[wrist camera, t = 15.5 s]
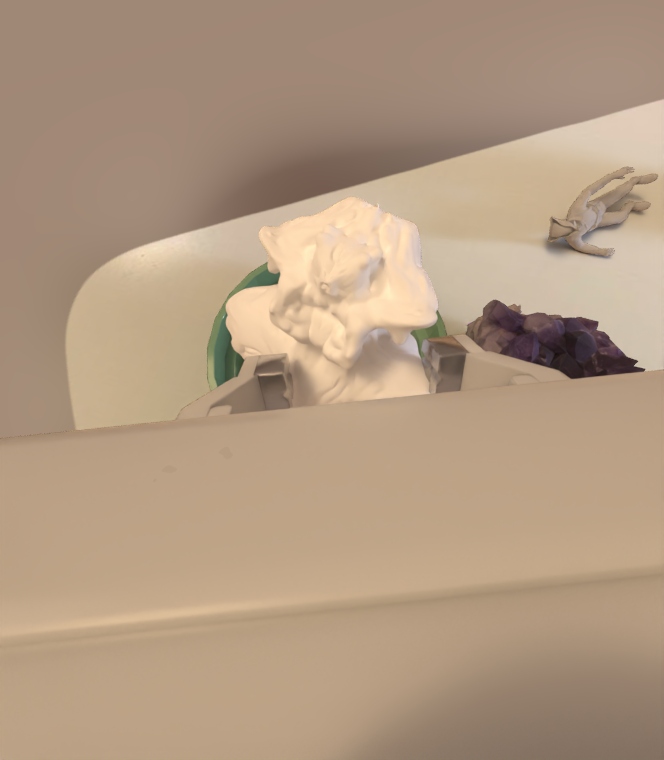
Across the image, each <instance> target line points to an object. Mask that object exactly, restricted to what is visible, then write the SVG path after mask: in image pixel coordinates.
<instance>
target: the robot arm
mask: <svg viewBox="0 0 664 760" xmlns="http://www.w3.org/2000/svg"><path fill="white" fill-rule="evenodd" d="M421 351H422V352H423V354H424V355H425V356H424V358H423V359H422V360H421V361H422V364H423V367H424V372H425V376H426V377H427V379H428V381H429V392H430V394H423V395H413V396H404V397H394V398H384V399H375V400H365V401H355V402H346V403H336V404H326V405H317V406H307V407H297V408H292V407H293V404H292V399H293V395H294V391H293V380H292V374H290V373H289V367H290V363H289V358H288V354H287V353H281V354H269V355H255V356H247V357H246V358H245V360H244V362H243V365H242V367H241V370H240V372H239V375H238V377H233V378H232V379H230V380H229V381H227V382H225V383H224V384H222V385H220V386H219V387H217V388H215V389H214V390H212V391H210V392H209V393H207V394H206V395H204V396H202V397H201V398H199V399H197V400H196V401H194V402H192V403H191V404H189V405H187V406H186V407H184V408H183V409H181V411H180V413H179V414H178V416H177V418H176V419H175V420H172V421H162V422H152V423H143V424H133V425H123V426H114V427H104V428H95V429H85V430H75V431H66V432H56V433H47V434H37V435H29V436H28V435H27V436H18V437H9V438H0V760H664V370H655V371H645V372H635V373H626V374H616V375H606V376H597V377H587V378H578V379H570V378H569V377H567V376H566V375H565V374H563V373H562V372H560V371H559V370H556V369H552V368H549V367H545V366H541V365H538V364H534V363H531V362H527V361H523V360H520V359H516V358H513V357H509V356H505V355H502V354H498V353H495V352H491V351H486V352H485V351H484V350H483V349H482V348H481V347H480V346H479V345H477V344H476V343H475V342H474V341H473V340H472V339H471V338H469V337H468V336H467V335H466V334H461V335H454V336H452V335H451V336H443V337H435V338H427V339H424V340H423V343H422V350H421Z"/></svg>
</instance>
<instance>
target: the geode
mask: <svg viewBox="0 0 664 760" xmlns="http://www.w3.org/2000/svg"><path fill="white" fill-rule="evenodd" d="M520 309H521V306H516V305H515V304H513V305H511V306H508V307H507V306H506V305H505V304H503V303H501V302H500V301H498V300H493V301H491V302H489V303H488V304H487V305H486V306H485V307H484V308H483V316H482V317H478V318H477V319H476V320H475V321H474V322H472V323H470V324H469V325H468V329H467V334H466V335H467V336H468V337H469V338H471V339H472V340H473V341H474V342H475V343H476V344H477V345H479V346H480V347H481V348H482V349H483V350H484V351H485V352H486V351H491V352H495V353H498V354H502V355H505V356H509V357H513V358H516V359H520V360H523V361H527V362H531V363H534V364H538V365H541V366H545V367H549V368H552V369H556V370H559V371H560V372H562V373H563V374H565V375H566V376H567V377H569V378H570V379H578V378H587V377H597V376H606V375H616V374H626V373H635V372H644V371H645V369H643V368H639V367H634V365H635V364H636V363H637V362H638V361H637V360H634V359H631V358H628V357H626V355H625V354H624V353H623V352H622V351H621V350H620V349H619V348H618V347H617V346H616V345H615V344H614V343H613V342H612V341H611V340H610V339H609V336H608V335H607V334H606V333H605V332H601V331H597V330H596V329H597V327H598V322H597V321H593V320H590V319H586V318H582V317H577V318H562V317H561V315H546V314H545V313H534V314H530V315H524V314H520V313H521V310H520Z"/></svg>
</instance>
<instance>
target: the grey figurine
mask: <svg viewBox="0 0 664 760" xmlns="http://www.w3.org/2000/svg"><path fill="white" fill-rule="evenodd" d="M630 170H634V169H633V167H624V168H621V169H619V170H617V171H615V172H613V173H611V174H608V175H606V176H605V177H603V178H602V179H600V180H598V181H596V182H595V183H593V184H592V185H590V186H589V187H587V188H586V189H584V190H583V191H582V193H581V195H580V196H579V197H578V198H577V199H576V201H574V203H573V204H572V205H571V207H570V209H569V211H568V214H567V218H566V219H564V220H559V219H556V218H554V217H551V218H550V232H549V238H548V242H549V241H550V242H554V241H556V240H557V239H559V238H562V237H565V239H566V241H567V242H568V244H570V245H571V246H572V247H573V248H574V249H576V250H578V251H582V252H585V253H590V254H594V255H595V254H598V255H602V256H611V255H613V254H614V251H615V250H613V249H614V248H610V249H605V248H604V249H600V248H598V247H596V246H593V245H590V244H588V243H586V242H583V241H582V238H581V236H582V235H583V234H585V233H588V232H590V231H592V230H593V229H595V228H596V227H600V226H608V225H612V224H619V223H621V222H622V221H624V220H626V219H627V218H628V214H629V212H630V211H631V210H638V211H639V210H645V209H648V208H649V207H650V205H651V204H650V203H649V202H633V201H628V202H626V203H625V205H624V206H623V207H622V208H621V209H620V210H619V211H618V212H615V211H614V212H607V213H606V212H605V211H606V209H607V208H608V207H610V206H611V205H612V204H614V203H615V202H617V201H619V200H620V199H622V198H623V197H624V196H625V195H627V194H628V193H629V192H630V191H631V190H632V188H633V186H634V185H637V184H648V183H651V182H653V181H655V180H656V179H657V177H658V175H657V174H649V175H645V176H639V177H633V178H631V179H630V180H629V181H627V182H625V183H624V184H623V185H620V186H618V187H616V189H614V190H612V191H610V192H608V193H606V194H604V195H602V196H600V197H598V198H596V199H594V200H592V201H589V202H588V200H589V197H590V196H591V195H593V194H594V193H595V192H597V191H598V190H599V189H601V188H602V187H604V186H605V185H606V184H607V183H609V182H610V181H611V180H613V179H624V178H625V177H623V176H624V175H625V174H628V173H632V172H634V171H630ZM565 220H566V221H565ZM610 252H612V253H610Z"/></svg>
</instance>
